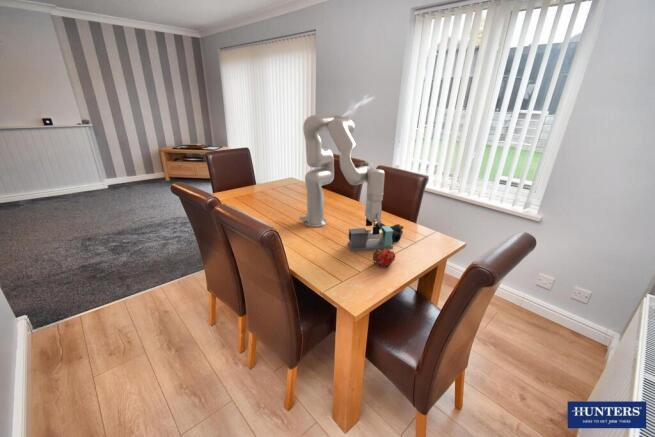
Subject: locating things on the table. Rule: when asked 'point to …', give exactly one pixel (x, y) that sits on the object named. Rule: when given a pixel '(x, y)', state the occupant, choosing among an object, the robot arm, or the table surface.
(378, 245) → the base board
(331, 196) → the table surface
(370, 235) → the inner tube
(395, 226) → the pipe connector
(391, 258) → the dragon fruit
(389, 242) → the socket block
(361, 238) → the outer sleeve
